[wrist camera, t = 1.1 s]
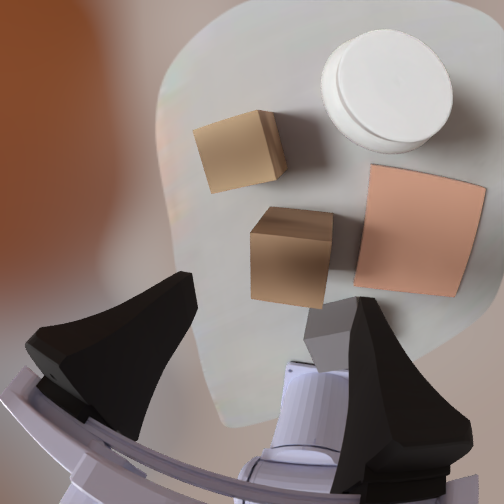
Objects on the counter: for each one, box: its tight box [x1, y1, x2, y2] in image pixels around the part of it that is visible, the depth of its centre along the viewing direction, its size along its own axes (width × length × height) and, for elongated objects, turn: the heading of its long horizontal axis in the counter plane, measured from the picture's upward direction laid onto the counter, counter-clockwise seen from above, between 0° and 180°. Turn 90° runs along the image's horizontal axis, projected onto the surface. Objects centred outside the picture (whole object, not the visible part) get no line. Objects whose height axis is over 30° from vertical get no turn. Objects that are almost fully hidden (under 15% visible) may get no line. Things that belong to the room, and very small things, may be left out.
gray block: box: [303, 296, 358, 373], centre depth 21 cm, size 4×4×4 cm
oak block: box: [193, 110, 288, 194], centre depth 16 cm, size 4×4×4 cm
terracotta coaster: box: [354, 164, 486, 297], centre depth 17 cm, size 9×9×1 cm
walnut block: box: [250, 207, 333, 309], centre depth 18 cm, size 4×4×5 cm
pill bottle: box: [321, 29, 453, 154], centre depth 10 cm, size 5×5×10 cm
